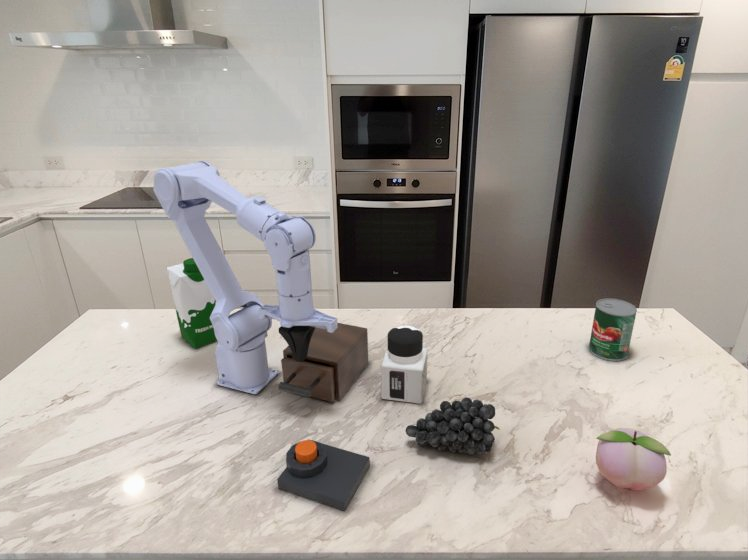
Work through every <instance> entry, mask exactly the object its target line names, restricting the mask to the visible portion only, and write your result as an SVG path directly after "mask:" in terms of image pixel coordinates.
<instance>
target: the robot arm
mask: <svg viewBox="0 0 748 560" xmlns="http://www.w3.org/2000/svg"><path fill="white" fill-rule="evenodd" d="M153 192H154V194H155V196H156V198H157V201H158V202H159V204H160V205H161V208H162V209H163V212H164V213H165V215H166V217H167V219H170V220H172V222H173V223H174V225H175V227H176V229H177V231H178V233H179V235H180V237H181V239H182V241H183V243H184V245H185V246H186V248H187V250H188V252H189V253H190V255H191V258H193V259H194V261H195V263H196V265H197V267H198V269H199V270H200V272H201V274H202V276H203V278H204V280H205V282H206V284H207V285H208V287H209V289H210V291H211V293H212V295H213V297H214V299H215V300H216V302H217V303H216V305H215V307H214V309H213V312H212V314H211V316H210V320H211V322H212V325H213V328H214V332H215V336H216V339H217V341H216V342H217V343H218V344H217V346H216V347H215V348H216V349H215V361H216V367H217V373H218V380H217V381H216V385H218V386H222V387H225V388H228V389H232V390H236V391H240V392H244V393H248V394H251V395H257V394H258V393H260V392H261V391H262V390H263V389H264V388H265V387H266V386H267V385H268V384H269V383H270V382H272V380H273V379H274V378H275V377H276V376H277V375H278V374H279V370H276V369H272V368H269V360H268V352H267V345H266V338H268V331H269V330H271V328H272V325H273V320H275V321H278V322H279V325H280V326H279V327H278V334H279V335H280V336H281V337H282V338H283V339H284V340H285V343H286V344H287V346H289V347H290V349H291V351H292V354H293V356H294V359H295V361H297V362H303V361H304V360H305V359H306V358H307V354H308V348H309V344H310V340H311V337H312V335H313V332H314V330H315V328H321V329H326V330H327V332H331V333H333V332H334V331H335V330H336V329H337V328H338V324H337V323H338V317H336V316H332V315H330V314H329V315H328V314H326V313H324V312H322V311H320V310H317V309H315V308H314V296H313V283H312V271H311V259H310V249H312V248H313V247H314V246H315V243H316V240H317V239H316V230H315V229H314V227H313V225H312V223H311V222H310V221H309V220H307V218H306V217H304V216H302V215H296V216H292V215H287V214H286V212H283V211H281V210H280V209H277V208H276V207H274V206H272V205H271V204H269V203H268V202H267V200H266V198H264V197H263V196H251V197H249V198H248V197H247V196H246V195H244V194H243V193H242V192H240V191H239V190H238V189H236V188H235V187H234V186H233V185H231V184H230V183H229V182H228V181H226V180H225V179H224V178H222V177H221V175H220V172H219V170H218V167H216V166H214V165H212V164H211V163H210V162H209V161H207V160H198V161H197V162H192V163H187V164H182V165H176V166H169V167H159V168H158V169H157V170H156V171H155V173H154V176H153ZM212 203H213V204H215V205H218V206H219V207H221V208H222V209H224V210H226V211H228V212H230V213H231V214H233V215H235V216H236V217H235V218H236V223H237V225H238V226H239V227H241V228H242V229H244V230H246V232H248V233H249V234H251V235H252V236H253V237H256V238H257V239H258V240H260V241H261V242H263V244H264V247H265V250H266V252H267V253H268V255H269V257H270V260H271V266H272V267H273V269H274V270H275V279H276V288H277V298H278V305H277V304H276V305H275V304H273V305H272V304H263V303H262V301H261V300H260V298H259V296H258V295H257V294H256V293H253V292H250V291H246V290H244V289H243V288H242V286H241V284H240V282H239V281H238V278H237V277H236V275H235V273H234V271H233V269H232V267H231V266H230V264H229V262H228V260H227V258H226V256H225V254H224V251H223V250H222V248H221V246H220V245H219V242H218V241H217V239H216V237H215V235H214V233H213V231H212V230H211V228H210V226H209V224H208V222H207V220H206V217H205V215H206V211H207V210H208V209H210V207H211V206H212ZM239 308H241V309H239ZM236 309H239V310H237V311H235V310H236ZM233 311H235V312H233ZM232 312H233V313H232ZM230 313H231V314H230Z"/></svg>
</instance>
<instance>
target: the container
mask: <svg viewBox="0 0 748 560" xmlns="http://www.w3.org/2000/svg"><path fill="white" fill-rule="evenodd" d="M423 344H424V334H423V332H422V331H421V330H420V329H419V328H417V327H415V326H412V325H398V326H395V327H393V328H391V329H389V331H388V332H387V348H386V351H385V354H384V357H383V359H382V362H381V365H380V380H381V383H380V384H381V386H380V387H381V388H380V389H381V399H382V400H388V401H395V402H404V403H413V404H422V403H423V400H424V395H425V390H426V385H427V380H428V348H427V347H424V346H423Z"/></svg>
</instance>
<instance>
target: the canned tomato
mask: <svg viewBox="0 0 748 560" xmlns="http://www.w3.org/2000/svg"><path fill="white" fill-rule="evenodd" d="M637 313H638V308H637V307H636V306H635V305H634V304H632V303H630V302H628V301H627V300H622V299H618V298H608V297H607V298H601V299H598V300H597V301H596V303H595V309H594V315H593V320H592V327H591V332H590V338H589V345H588V350H589V352H590V353H591V354H592V355H594V356H595V357H597V358H598V359H599V358H600V359H602V360H605V361H610V362H622V361H624V360H626V359H627V358H628V356H629V350H630V345H631V341H632V336H633V331H634V326H635V322H636V316H637Z"/></svg>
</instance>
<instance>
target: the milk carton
mask: <svg viewBox="0 0 748 560" xmlns="http://www.w3.org/2000/svg"><path fill="white" fill-rule="evenodd" d="M166 271H167V276H168V279H169V284H170V289H171V293H172V294H171V295H172V298H173V303H174V304H173V305H174V308H175V313H176V318H177V319H176V320H177V323H178V327H179V331H180V335H181V338H182V339H183V340H184V341H185V342H186V343H187V344H189V345H190V346H191V347H192V348H193V349H195V350H197V349H199V348H202V347H204V346H206V345H209V344H212V343H214V342H218V341H217V339H216V336H215V332H214V328H213V325H212V322H211V320H210V316H211V314H212V312H213V309H214V307H215V305H216V303H217V302H216V300H215V299H214V297H213V295H212V293H211V291H210V289H209V287H208V285H207V284H206V282H205V280H204V278H203V276H202V274H201V272H200V270H199V269H198V267H197V265H196V263H195V261H194V259H193V257H190V258H187V259H184V260H183V262H182V263H179V264H175V265H172V266H166Z"/></svg>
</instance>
